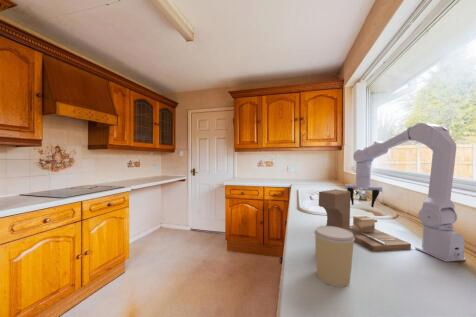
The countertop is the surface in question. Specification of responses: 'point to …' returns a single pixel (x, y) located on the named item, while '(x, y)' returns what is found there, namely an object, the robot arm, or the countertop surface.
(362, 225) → the beige peg block
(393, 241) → the walnut board
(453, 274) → the countertop surface
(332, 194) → the decorative block
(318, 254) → the coffee cup
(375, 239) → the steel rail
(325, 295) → the countertop surface
